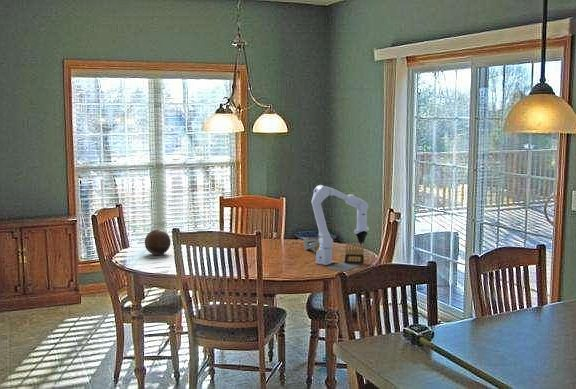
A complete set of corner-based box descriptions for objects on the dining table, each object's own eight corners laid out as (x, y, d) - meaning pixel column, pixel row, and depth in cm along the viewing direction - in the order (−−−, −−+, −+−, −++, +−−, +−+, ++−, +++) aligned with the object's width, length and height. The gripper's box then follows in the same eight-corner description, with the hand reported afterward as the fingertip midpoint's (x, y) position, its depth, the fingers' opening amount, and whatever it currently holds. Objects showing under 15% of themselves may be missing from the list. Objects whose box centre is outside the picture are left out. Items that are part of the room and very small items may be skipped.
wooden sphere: (175, 254, 395) (175, 229, 393) (158, 258, 383) (157, 232, 381) (157, 251, 403) (157, 226, 402) (139, 255, 391) (139, 230, 389)
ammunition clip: (363, 263, 375) (363, 242, 374) (363, 263, 373) (364, 242, 372) (344, 262, 374) (345, 241, 373) (344, 263, 372) (345, 242, 371)
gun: (309, 263, 413) (307, 239, 417) (323, 256, 390) (320, 231, 394) (305, 263, 412) (302, 240, 416) (318, 256, 389) (315, 231, 393)
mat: (345, 271, 354) (345, 270, 354) (326, 268, 361) (326, 267, 361) (360, 265, 368) (360, 265, 368) (342, 263, 375) (342, 262, 375)
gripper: (361, 223, 369) (361, 247, 371) (374, 220, 381) (373, 243, 383) (350, 222, 373) (350, 245, 375) (363, 219, 385) (362, 242, 387)
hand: (361, 244), depth 379 cm, fingers closed
